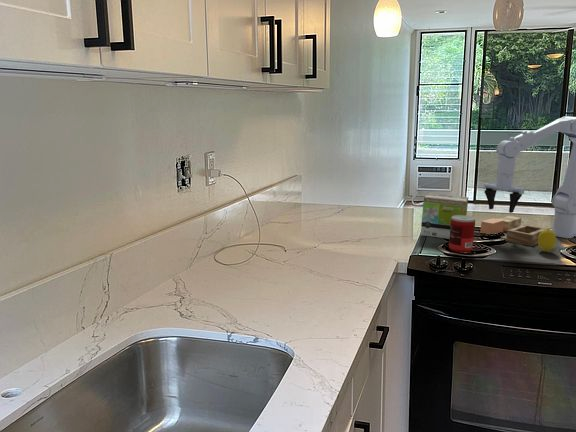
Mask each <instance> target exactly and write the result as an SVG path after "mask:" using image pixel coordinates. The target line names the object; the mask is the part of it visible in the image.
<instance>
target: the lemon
mask: <svg viewBox="0 0 576 432" xmlns="http://www.w3.org/2000/svg"><path fill="white" fill-rule="evenodd" d="M545 229H546V230H543V231H542V232H541V233H540V234H539V236H538V244H537V245H538V247H539V248H540V249H541V250H543V251H544V252H545V253H547V252H548V251H551V250H553V249H554V248H555V246H556V243H557V236H556V235H555V233H554V232H553V231H552V229H550V228H545Z"/></svg>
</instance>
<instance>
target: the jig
mask: <svg viewBox="0 0 576 432" xmlns="http://www.w3.org/2000/svg"><path fill="white" fill-rule="evenodd" d="M546 229H547V228H545V227H538V226H534V225H529V224H522V225H521V226H519V227H516V228H513V229H510V230H507V232H506V235H504V236H501V237H500V240H501V239H504V240H505V241H504V240H503V241H504V242H509V243H513V244H518V245H523V246H528V247H533V246H536V245H538V236H539V234H540V233H541V232H542V231H543V230H546Z"/></svg>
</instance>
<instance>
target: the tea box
mask: <svg viewBox="0 0 576 432" xmlns="http://www.w3.org/2000/svg"><path fill="white" fill-rule="evenodd" d="M468 204H469V196H463V195H462V196H460V195H452V194H442V193H441V194H439V193H430V192H428V193H427V194H426V195H425V196H424V197H423V203H422V212H421V213H422V214H421V223H420V236H421V237H425V236H426V237H433V238H439V239H447V240H449V239H450V227H451V218H452V216H455V215H464V216H468V215H467V213H468Z"/></svg>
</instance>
